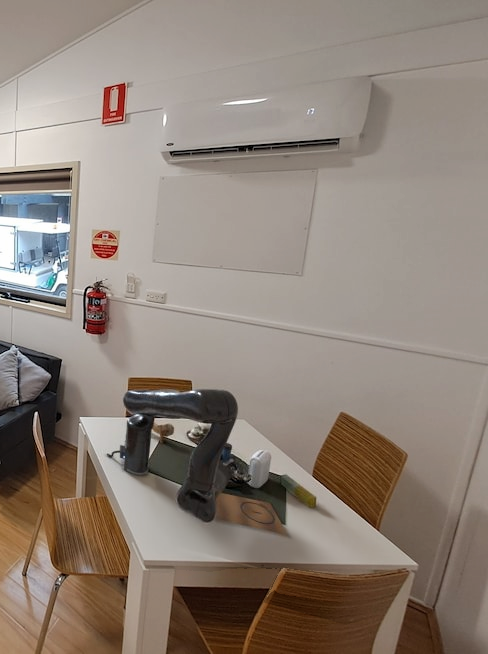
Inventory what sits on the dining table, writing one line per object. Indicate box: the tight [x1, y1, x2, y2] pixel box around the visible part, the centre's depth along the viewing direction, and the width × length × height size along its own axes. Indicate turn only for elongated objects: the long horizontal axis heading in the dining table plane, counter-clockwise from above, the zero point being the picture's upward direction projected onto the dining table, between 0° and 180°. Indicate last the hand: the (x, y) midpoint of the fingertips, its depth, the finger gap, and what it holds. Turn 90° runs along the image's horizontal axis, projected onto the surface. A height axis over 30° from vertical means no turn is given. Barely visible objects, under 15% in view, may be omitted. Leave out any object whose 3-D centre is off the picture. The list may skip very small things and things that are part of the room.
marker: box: [221, 442, 233, 462], centre depth 131 cm, size 3×3×12 cm
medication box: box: [280, 474, 317, 509], centre depth 135 cm, size 12×3×4 cm, turn 6°
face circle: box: [240, 502, 275, 524], centre depth 127 cm, size 9×9×1 cm
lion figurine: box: [152, 422, 175, 444], centre depth 169 cm, size 15×5×9 cm, turn 44°
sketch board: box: [215, 492, 289, 536], centre depth 129 cm, size 20×16×1 cm
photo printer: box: [246, 449, 272, 489], centre depth 141 cm, size 10×4×12 cm, turn 123°
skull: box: [185, 422, 211, 445], centre depth 169 cm, size 12×10×10 cm
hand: (228, 454), depth 133 cm, fingers closed on marker, 2 cm apart
